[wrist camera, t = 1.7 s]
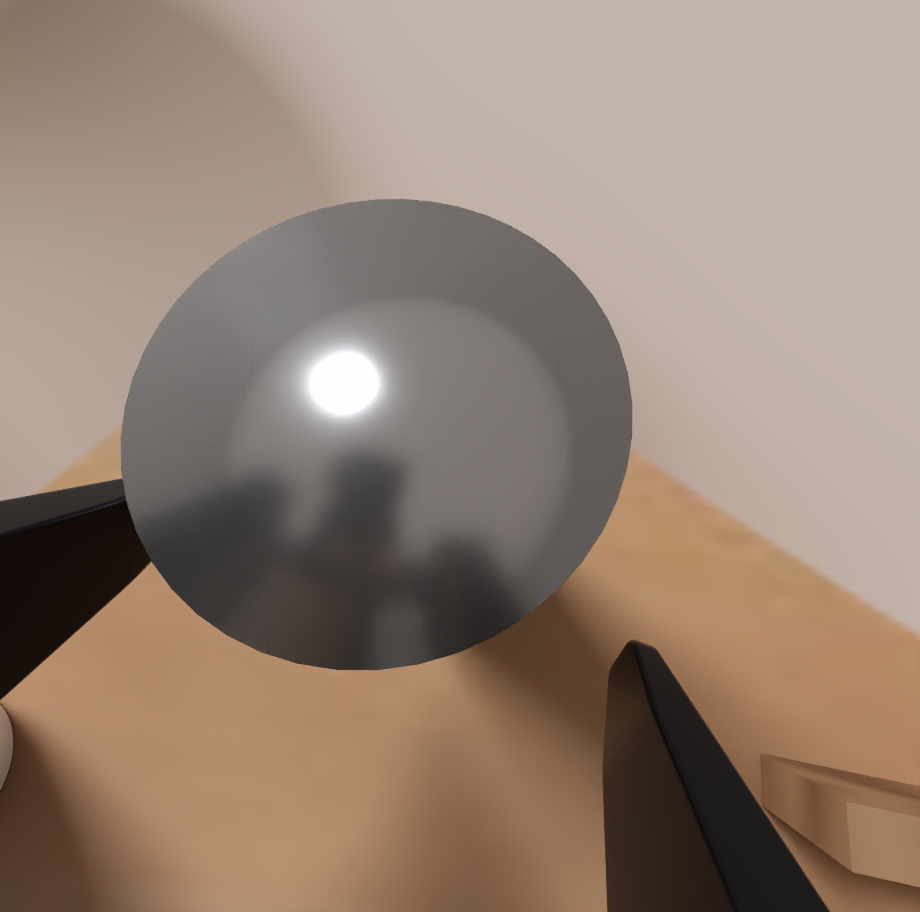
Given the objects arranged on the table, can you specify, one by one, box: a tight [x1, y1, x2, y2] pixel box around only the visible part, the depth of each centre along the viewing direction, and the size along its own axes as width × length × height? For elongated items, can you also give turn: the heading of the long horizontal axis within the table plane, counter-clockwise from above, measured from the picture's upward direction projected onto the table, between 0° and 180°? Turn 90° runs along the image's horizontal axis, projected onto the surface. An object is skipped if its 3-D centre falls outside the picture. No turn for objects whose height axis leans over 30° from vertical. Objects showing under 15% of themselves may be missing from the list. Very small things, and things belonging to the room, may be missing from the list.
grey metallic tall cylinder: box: [121, 199, 632, 670], centre depth 11 cm, size 5×5×14 cm
